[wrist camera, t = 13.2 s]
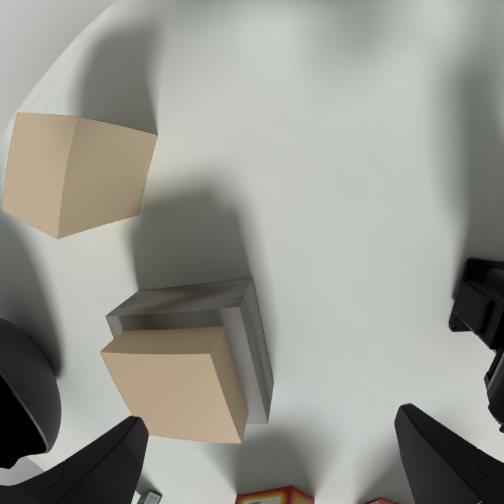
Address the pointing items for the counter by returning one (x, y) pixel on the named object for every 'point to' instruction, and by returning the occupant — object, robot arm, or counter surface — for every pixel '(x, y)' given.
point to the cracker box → (381, 502)
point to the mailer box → (74, 172)
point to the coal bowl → (25, 398)
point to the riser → (210, 315)
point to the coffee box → (150, 498)
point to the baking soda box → (276, 497)
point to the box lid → (180, 382)
